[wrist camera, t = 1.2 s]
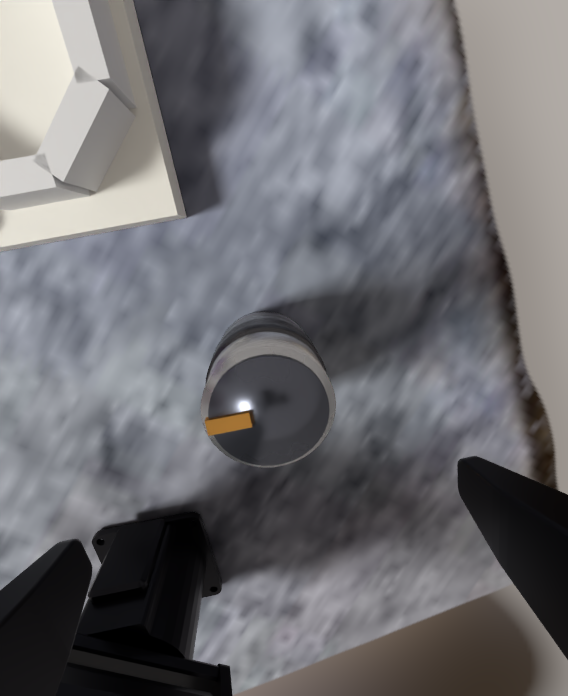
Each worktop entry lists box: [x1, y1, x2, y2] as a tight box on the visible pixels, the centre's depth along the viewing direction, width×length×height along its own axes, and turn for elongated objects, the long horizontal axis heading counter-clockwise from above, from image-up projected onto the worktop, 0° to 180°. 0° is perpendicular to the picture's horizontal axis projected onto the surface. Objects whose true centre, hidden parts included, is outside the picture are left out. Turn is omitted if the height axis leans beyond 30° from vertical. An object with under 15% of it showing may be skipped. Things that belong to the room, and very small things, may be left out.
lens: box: [201, 311, 336, 467], centre depth 15 cm, size 5×5×6 cm
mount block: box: [0, 0, 187, 252], centre depth 12 cm, size 11×10×4 cm
